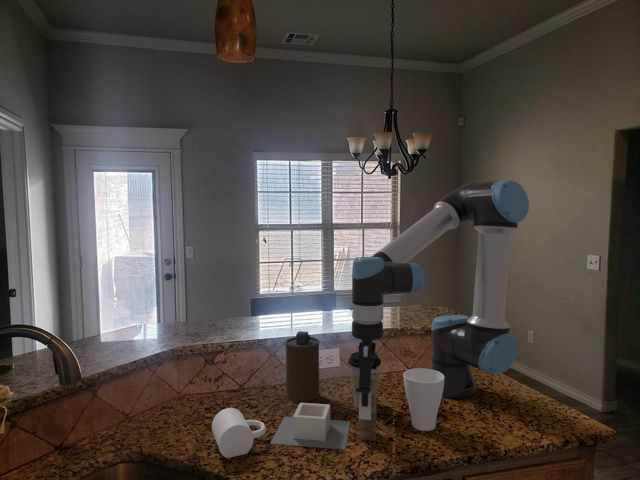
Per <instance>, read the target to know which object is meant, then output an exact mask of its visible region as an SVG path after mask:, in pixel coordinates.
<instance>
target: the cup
mask: <svg viewBox="0 0 640 480" xmlns="http://www.w3.org/2000/svg"><path fill="white" fill-rule="evenodd" d="M402 376H403V386H404V390H405V396H406V400H407V403H408V407H409V413H410V420H411V426H412V427H413V428H414V429H416V430H418V431H421V432H430V431H434V430H435V429H436V425H437V416H438V412H439V408H440V404H441V403H442V402H441V401H442V398H443V396H442V393H443V389H444V379H445V377H444V375H443V374H442V373H440V372H438V371H435V370H432V369H430V368H425V367H424V368H423V367H417V368H416V367H415V368H409V369H407V370H405V371H404V372H403V373H402Z"/></svg>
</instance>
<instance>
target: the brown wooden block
mask: <svg viewBox="0 0 640 480" xmlns="http://www.w3.org/2000/svg"><path fill="white" fill-rule="evenodd" d="M362 387H367V386H362ZM370 389H371V420H367V419H359V418H358V440H361V441H371V442H373V441H374V442H376V441H377V393H376V373H371V387H370Z"/></svg>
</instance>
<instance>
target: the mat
mask: <svg viewBox="0 0 640 480" xmlns="http://www.w3.org/2000/svg"><path fill="white" fill-rule="evenodd" d="M350 426H351V420H339V419H338V420H337V419H330V428H329V431H328V434H327V438H326V441H318V440H305V439H293V416H284V417H283V418H282V420H281V422H280V424H279V425H278V428H277V429H276V432H275V434H274V435H273V437H272V439H271V441H270V442H269V444H272V445H283V446H285V445H286V446H295V447H296V446H297V447H309V448H318V449H320V448H321V449H322V448H323V449H333V450H346V444H347V440H348V435H349V430H350Z"/></svg>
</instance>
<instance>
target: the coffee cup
mask: <svg viewBox="0 0 640 480" xmlns="http://www.w3.org/2000/svg"><path fill="white" fill-rule="evenodd" d="M347 363H348V365H349V366H350V379H351V380H350V381H351V388H352V390H351V391H352V394H353V403H354V406H355V407H356V408H358V409H359V392H356V388H359V375H360V363H359V351H355V352H353V353H351V354H350V357H349V358H348V362H347ZM381 364H382V362H381V358H379V355H378V353H375V355H374V365H376V369H372V370H374V373H376V394H377V392H378V387H379V377H380V376H379V375H380V372H379V371H380V370H379V368H380V366H381Z"/></svg>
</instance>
